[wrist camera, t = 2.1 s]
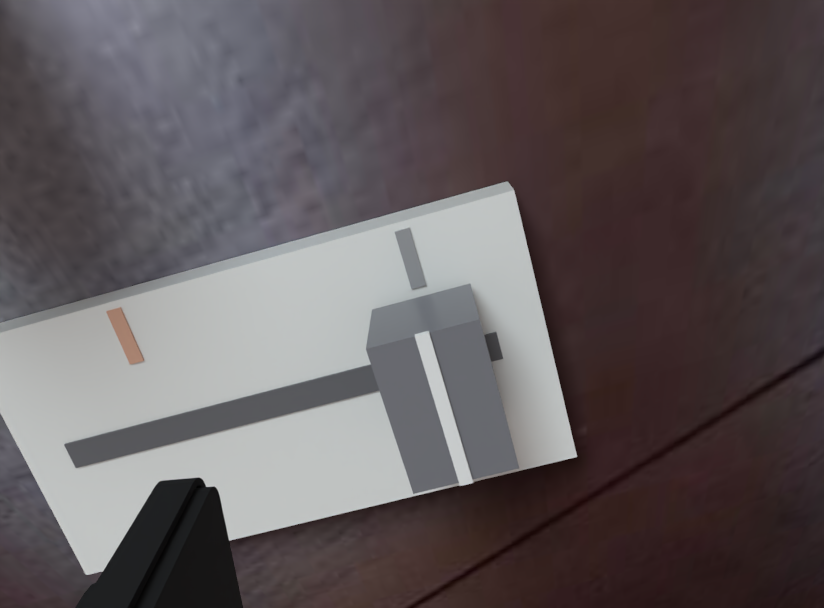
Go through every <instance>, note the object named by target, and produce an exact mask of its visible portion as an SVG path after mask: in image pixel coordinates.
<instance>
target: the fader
mask: <svg viewBox="0 0 824 608" xmlns="http://www.w3.org/2000/svg"><path fill="white" fill-rule="evenodd" d="M366 351H367V354H368V357H369V360H370V363H371V367H372V370H373V373H374V376H375V379H376V382H377V385H378V388H379V391H380V394H381V397H382V400H383V403H384V406H385V409H386V412H387V415H388V418H389V421H390V424H391V427H392V430H393V433H394V436H395V440H396V443H397V446H398V449H399V452H400V455H401V458H402V461H403V464H404V467H405V470H406V473H407V476H408V479H409V482H410V485H411V488H412V491H413V494H415V493H419V492H423V491H427V490H431V489H436V488H440V487H444V486H448V485H452V484H456V483H459V485H460V486H463V485H467V484H471V483H473V479H477V478H481V477H485V476H490V475H494V474H498V473H502V472H506V471H510V470H514V469H519V465H518V461H517V457H516V453H515V449H514V445H513V442H512V438H511V434H510V430H509V426H508V422H507V418H506V414H505V411H504V407H503V403H502V399H501V396H500V392H499V388H498V385H497V381H496V377H495V373H494V370H493V366H492V362H491V358H490V355H489V351H488V347H487V343H486V340H485V336H484V332H483V329H482V325H481V321H480V317H479V314H478V310H477V306H476V302H475V299H474V295H473V291H472V287H471V284H466V285H462V286H459V287H455V288H451V289H447V290H444V291H440V292H436V293H432V294H429V295H425V296H421V297H417V298H414V299H410V300H406V301H402V302H399V303H395V304H391V305H387V306H384V307H380V308H376V309H372V313H371V319H370V326H369V332H368V338H367V344H366Z"/></svg>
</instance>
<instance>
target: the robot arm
mask: <svg viewBox="0 0 824 608" xmlns="http://www.w3.org/2000/svg"><path fill="white" fill-rule="evenodd" d="M76 608H243V605H242V600H241V596H240V591H239V586H238V581H237V577H236V572H235V567H234V562H233V557H232V553H231V548H230V543H229V538H228V534H227V529H226V524H225V519H224V514H223V510H222V505H221V500H220V496H219V492H218V490H217V488H216V487H206V485H205V483H204V481H203V479H201V478H200V477H199V478H187V479H175V480H164V481H159V482H158V483H157V484H156V486H155V487H154V489H153V491H152V492H151V494H150V495H149V497H148V499H147V500H146V502H145V504H144V505H143V507H142V509H141V510H140V512H139V513H138V515H137V517H136V518H135V520H134V522H133V523H132V525H131V527H130V528H129V530H128V531H127V533H126V535H125V536H124V538H123V540H122V541H121V543H120V545H119V546H118V548H117V549H116V551H115V553H114V554H113V556H112V558H111V559H110V561H109V563H108V564H107V566H106V567H105V569H104V571H103V572H102V574H101V576H100V577H99V579H98V581H97V582H96V583H94V584H92V585H91V586H90V587H89V588H88V590H87V591H86V592H85V593H84V595H83V596H82V598H81V600H80V601H79V603H78V604H77V606H76Z"/></svg>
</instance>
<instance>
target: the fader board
mask: <svg viewBox="0 0 824 608" xmlns="http://www.w3.org/2000/svg"><path fill="white" fill-rule="evenodd" d="M466 284H471V287H472V291H473V295H474V299H475V302H476V306H477V310H478V314H479V317H480V321H481V325H482V329H483V332H484V336H485V340H486V343H487V347H488V351H489V355H490V358H491V362H492V366H493V370H494V373H495V377H496V381H497V385H498V388H499V392H500V396H501V399H502V403H503V407H504V411H505V414H506V418H507V422H508V426H509V430H510V434H511V438H512V442H513V445H514V449H515V453H516V457H517V461H518V465H519V469H514V470H510V471H506V472H502V473H498V474H494V475H490V476H485V477H481V478H477V479H473V482H475V481H479V480H483V479H488V478H492V477H496V476H500V475H504V474H508V473H513V472H517V471H521V470H525V469H529V468H533V467H537V466H542V465H546V464H550V463H554V462H558V461H562V460H567V459H571V458H575V457H577V454H576V450H575V446H574V442H573V437H572V433H571V429H570V425H569V420H568V416H567V412H566V408H565V403H564V399H563V395H562V391H561V386H560V382H559V378H558V374H557V369H556V365H555V361H554V357H553V353H552V348H551V344H550V340H549V336H548V331H547V327H546V323H545V319H544V314H543V310H542V306H541V302H540V297H539V293H538V289H537V285H536V280H535V276H534V272H533V268H532V263H531V259H530V255H529V251H528V247H527V242H526V238H525V234H524V230H523V225H522V221H521V217H520V213H519V208H518V204H517V200H516V196H515V191H514V189H513V188H512V187H511V185H510V184H509V183H508V181H507V182H503V183H500V184H496V185H493V186H489V187H485V188H482V189H478V190H475V191H471V192H468V193H464V194H460V195H457V196H453V197H450V198H446V199H442V200H439V201H435V202H432V203H428V204H424V205H421V206H417V207H414V208H410V209H407V210H403V211H399V212H396V213H392V214H389V215H385V216H381V217H378V218H374V219H371V220H367V221H364V222H360V223H356V224H353V225H349V226H346V227H342V228H338V229H335V230H331V231H328V232H324V233H320V234H317V235H313V236H310V237H306V238H303V239H299V240H295V241H292V242H288V243H285V244H281V245H277V246H274V247H270V248H267V249H263V250H260V251H256V252H252V253H249V254H245V255H242V256H238V257H234V258H231V259H227V260H224V261H220V262H216V263H213V264H209V265H206V266H202V267H199V268H195V269H191V270H188V271H184V272H181V273H177V274H173V275H170V276H166V277H163V278H159V279H155V280H152V281H148V282H145V283H141V284H138V285H134V286H130V287H127V288H123V289H120V290H116V291H112V292H109V293H105V294H102V295H98V296H95V297H91V298H87V299H84V300H80V301H77V302H73V303H69V304H66V305H62V306H59V307H55V308H51V309H48V310H44V311H41V312H37V313H34V314H30V315H26V316H23V317H19V318H16V319H12V320H8V321H5V322H1V323H0V413H1V415H2V417H3V419H4V421H5V423H6V424H7V426H8V428H9V430H10V432H11V434H12V436H13V438H14V440H15V441H16V443H17V445H18V447H19V449H20V451H21V453H22V455H23V457H24V458H25V460H26V462H27V464H28V466H29V468H30V470H31V472H32V474H33V476H34V477H35V479H36V481H37V483H38V485H39V487H40V489H41V491H42V493H43V494H44V496H45V498H46V500H47V502H48V504H49V506H50V508H51V510H52V511H53V513H54V515H55V517H56V519H57V521H58V523H59V525H60V527H61V529H62V530H63V532H64V534H65V536H66V538H67V540H68V542H69V544H70V546H71V547H72V549H73V551H74V553H75V555H76V557H77V559H78V561H79V563H80V564H81V566H82V568H83V570H84V572H85V574H86V575H89V574H93V573H97V572H101V571H104V569H105V567H106V566H107V564H108V563H109V561H110V559H111V558H112V556H113V554H114V553H115V551H116V549H117V548H118V546H119V545H120V543H121V541H122V540H123V538H124V536H125V535H126V533H127V531H128V530H129V528H130V527H131V525H132V523H133V522H134V520H135V518H136V517H137V515H138V513H139V512H140V510H141V509H142V507H143V505H144V504H145V502H146V500H147V499H148V497H149V495H150V494H151V492H152V491H153V489H154V487H155V486H156V484H157V483H158V482H159V481H164V480H175V479H187V478H199V477H200V478H201V479H203V481H204V483H205V485H206V487H216V488H217V490H218V492H219V496H220V500H221V505H222V510H223V514H224V519H225V524H226V529H227V534H228V538H229V541H230V540H234V539H238V538H243V537H247V536H251V535H255V534H259V533H263V532H268V531H272V530H276V529H280V528H284V527H288V526H292V525H297V524H301V523H305V522H309V521H313V520H317V519H322V518H326V517H330V516H334V515H338V514H342V513H346V512H351V511H355V510H359V509H363V508H367V507H371V506H376V505H380V504H384V503H388V502H392V501H396V500H400V499H405V498H409V497H413V496H417V495H421V494H425V493H429V492H434V491H438V490H442V489H446V488H450V487H454V486H459V483H456V484H452V485H448V486H444V487H440V488H436V489H431V490H427V491H423V492H419V493H415V494H413V491H412V488H411V485H410V482H409V479H408V476H407V473H406V470H405V467H404V464H403V461H402V458H401V455H400V452H399V449H398V446H397V443H396V440H395V436H394V433H393V430H392V427H391V424H390V421H389V418H388V415H387V412H386V409H385V406H384V403H383V400H382V397H381V394H380V391H379V388H378V385H377V382H376V379H375V376H374V373H373V370H372V367H371V363H370V360H369V357H368V354H367V351H366V344H367V338H368V332H369V326H370V319H371V313H372V309H376V308H380V307H384V306H387V305H391V304H395V303H399V302H402V301H406V300H410V299H414V298H417V297H421V296H425V295H429V294H432V293H436V292H440V291H444V290H447V289H451V288H455V287H459V286H462V285H466Z"/></svg>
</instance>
